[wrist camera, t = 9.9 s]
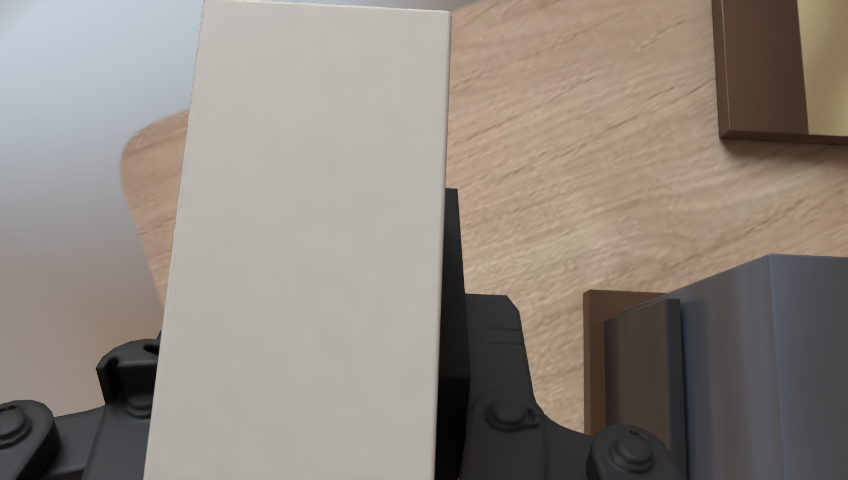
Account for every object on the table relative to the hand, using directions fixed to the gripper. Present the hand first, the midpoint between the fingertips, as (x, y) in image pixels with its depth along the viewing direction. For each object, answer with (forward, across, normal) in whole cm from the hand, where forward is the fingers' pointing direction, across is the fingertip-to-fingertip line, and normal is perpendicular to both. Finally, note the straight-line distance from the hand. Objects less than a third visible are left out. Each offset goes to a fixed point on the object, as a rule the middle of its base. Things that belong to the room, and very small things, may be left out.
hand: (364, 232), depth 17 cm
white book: (0, 0, -6) cm, 6 cm away
